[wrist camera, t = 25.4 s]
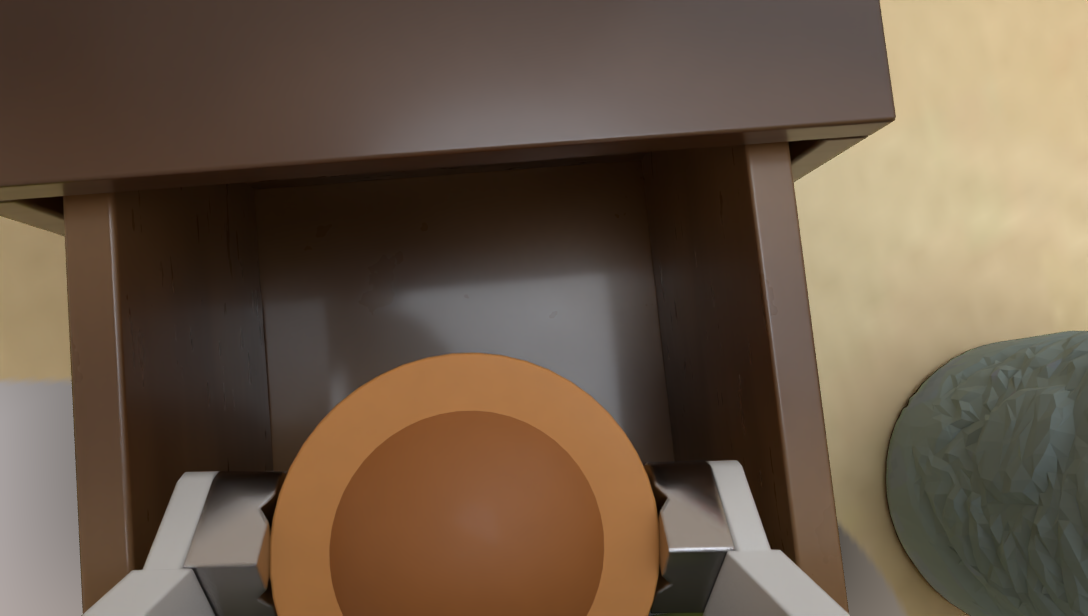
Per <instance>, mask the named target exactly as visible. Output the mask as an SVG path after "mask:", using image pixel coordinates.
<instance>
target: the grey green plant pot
mask: <svg viewBox="0 0 1088 616" xmlns="http://www.w3.org/2000/svg"><path fill="white" fill-rule="evenodd" d="M886 485H887V499H888V504H889V510H890V515H891V518H892V521H893V524H894V527H895V530H896V532H897V535H898V537H899V540H900V542H901V543H902V545H903V547H904V549H905V551H906V553H907V554H908V556H909V557H910V559H911V560H912V562H913V563H914V564H915V566H916V567H917V569H918V570H919V572H920V573H921V574H922V576H923V577H924V578H925V579H926V580H927V582H928V583H929V584H930V585H931V586H932V587H933V588H934V589H935V590H936V591H937V592H938V593H939V594H941V595H942V596H943V597H944V598H945V599H946V600H947V601H949V602H950V603H951V604H953V605H954V606H956V607H957V608H959V609H961V610H962V611H964V612H965V613H967V614H968V615H970V616H1088V331H1067V332H1060V333H1054V334H1048V335H1041V336H1035V337H1028V338H1022V339H1016V340H1009V341H1003V342H997V343H991V344H988V345H984V346H981V347H978V348H975V349H972V350H969V351H966V352H965V353H964V354H961V355H959V356H957V357H955V358H953V359H951V360H950V361H949V362H948V363H947V364H946V365H944V366H943V367H941V368H940V369H938V370H937V371H936V372H935V373H934V374H933V375H931V376H930V377H929V378H928V379H927V380H926V381H925V382H924V383H923V384H922V385H921V387H920V388H919V390H918V391H917V393H915V394H914V395H913V396H912V397H910V398H909V403H908V406H907V407H905V408H904V409H903V410H902V412H901V415H900V417H899V419H898V420H897V422H896V424H895V427H894V430H893V433H892V436H891V439H890V444H889V450H888V456H887V469H886Z"/></svg>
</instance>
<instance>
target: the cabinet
mask: <svg viewBox="0 0 1088 616" xmlns="http://www.w3.org/2000/svg"><path fill="white" fill-rule="evenodd" d="M895 117H896V115H895V108H894V101H893V94H892V87H891V80H890V73H889V65H888V58H887V51H886V44H885V37H884V30H883V23H882V16H881V9H880V2H879V0H0V216H3V217H6V218H9V219H12V220H15V221H19V222H22V223H25V224H28V225H31V226H34V227H37V228H41V229H44V230H47V231H50V232H53V233H56V234H59V235H63V236H65V228H64V208H63V196H70V195H83V194H97V193H110V192H123V191H137V190H150V189H163V188H176V187H190V186H203V185H216V184H230V183H243V182H256V181H269V180H283V179H296V178H309V177H322V176H336V175H349V174H362V173H376V172H389V171H402V170H415V169H429V168H442V167H455V166H469V165H482V164H495V163H508V162H522V161H535V160H548V159H561V158H575V157H588V156H601V155H615V154H628V153H641V152H654V151H668V150H681V149H694V148H708V147H721V146H734V145H747V144H761V143H774V142H787V141H788V144H789V151H790V159H791V167H792V175H793V182H795V181H797V180H798V179H800V178H801V177H803V176H805V175H806V174H808V173H810V172H811V171H813V170H814V169H816V168H818V167H819V166H821V165H823V164H824V163H826V162H827V161H829V160H831V159H832V158H834V157H836V156H837V155H839V154H840V153H842V152H844V151H845V150H847V149H849V148H850V147H852V146H853V145H855V144H857V143H858V142H860V141H862V140H863V139H865V138H866V137H868V135H871V134H873V133H875V132H876V131H878V130H880V129H881V128H883V127H885V126H886V125H888V124H889V123H891V122H893V121H894V120H895Z"/></svg>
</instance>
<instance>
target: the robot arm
mask: <svg viewBox="0 0 1088 616" xmlns="http://www.w3.org/2000/svg"><path fill="white" fill-rule="evenodd" d="M644 469H645V471H646V473H647V475H648V478H649V481H650V485H651V488H652V491H653V494H654V498H655V502H656V508H657V513H658V526H659V576H658V581H657V585H656V590H655V595H654V600H653V603H652V606H651V609H650V610H651V613H703V616H851V615H850V614H848V613H847V612H846V611H845V610H844V609H843V608H842V607H841V606H840V605H839V604H838V603H837V602H836V601H835V600H833V599H832V598H831V597H830V596H829V595H828V594H827V593H826V592H825V591H824V590H823V589H822V588H821V587H820V586H818V585H817V584H816V583H815V582H814V581H813V580H812V579H811V578H810V577H809V576H808V575H807V574H806V573H805V572H803V571H802V570H801V569H800V568H799V567H798V566H797V565H796V564H795V563H794V562H793V561H792V560H791V559H790V558H788V557H787V556H786V555H785V554H784V553H783V552H782V551H781V550H777V549H771V548H770V546H769V543H768V540H767V537H766V534H765V531H764V528H763V525H762V522H761V519H760V516H759V514H758V511H757V508H756V505H755V502H754V499H753V496H752V493H751V490H750V487H749V485H748V482H747V479H746V476H745V473H744V470H743V467H742V465H741V464H740V463H739V462H738V461H737V460H722V461H705V460H695V461H668V462H647V463H646V464H645V465H644ZM287 473H288V471H203V472H185V473H184V474H183V475H182V476H181V478H180V479H179V480H178V481H177V483H176V486H175V488H174V491H173V493H172V496H171V499H170V501H169V504H168V506H167V509H166V511H165V514H164V516H163V519H162V521H161V524H160V526H159V529H158V532H157V534H156V537H155V539H154V542H153V544H152V547H151V549H150V552H149V554H148V557H147V560H146V562H145V565H144V567H143V569H142V570H132V571H131V572H130V573H129V574H127V575H126V576H125V577H124V578H123V579H122V580H121V581H120V582H118V583H117V584H116V585H115V586H114V587H113V588H112V589H111V590H110V591H108V592H107V593H106V594H105V595H104V596H103V597H102V598H101V599H99V600H98V601H97V602H96V603H95V604H94V605H93V606H92V607H90V608H89V609H88V610H87V611H86V612H85V613H84V614H83V615H82V616H278V615H277V612H276V608H275V604H274V601H273V596H272V589H271V581H270V538H271V527H272V520H273V515H274V511H275V508H276V504H277V500H278V496H279V493H280V490H281V488H282V485H283V483H284V480H285V478H286V475H287Z"/></svg>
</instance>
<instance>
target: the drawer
mask: <svg viewBox="0 0 1088 616" xmlns="http://www.w3.org/2000/svg"><path fill="white" fill-rule="evenodd" d="M63 208H64V228H65V249H66V270H67V291H68V312H69V333H70V354H71V375H72V395H73V417H74V437H75V459H76V480H77V500H78V518H79V519H78V521H79V540H80V541H79V542H80V563H81V584H82V604H83V614H84V613H85V612H86V611H87V610H88V609H89V608H90V607H92V606H93V605H94V604H95V603H96V602H97V601H98V600H99V599H101V598H102V597H103V596H104V595H105V594H106V593H107V592H108V591H110V590H111V589H112V588H113V587H114V586H115V585H116V584H117V583H118V582H120V581H121V580H122V579H123V578H124V577H125V576H126V575H127V574H129V573H130V572H131V571H132V570H142V569H143V567H144V565H145V562H146V560H147V557H148V554H149V552H150V549H151V547H152V544H153V542H154V539H155V537H156V534H157V532H158V529H159V526H160V524H161V521H162V519H163V516H164V514H165V511H166V509H167V506H168V504H169V501H170V499H171V496H172V493H173V491H174V488H175V486H176V483H177V481H178V480H179V479H180V478H181V476H182V475H183V474H184V473H185V472H203V471H289V468H290V466H291V464H292V463H293V461H294V459H295V457H296V456H297V454H298V452H299V450H300V449H301V447H302V445H303V444H304V442H305V441H306V440H307V438H308V437H309V436H310V434H311V433H312V432H313V430H314V429H315V428H316V426H317V425H318V424H319V423H320V422H321V421H322V420H323V418H324V417H325V416H326V415H327V414H328V413H329V412H330V411H331V410H332V409H333V408H334V407H335V406H336V405H337V404H338V403H340V402H341V401H342V400H343V399H345V398H346V397H347V396H348V395H350V394H351V393H352V392H353V391H355V390H356V389H357V388H359V387H360V386H362V385H364V384H365V383H367V382H369V381H370V380H372V379H374V378H375V377H377V376H379V375H381V374H383V373H385V372H387V371H390V370H392V369H394V368H396V367H399V366H401V365H403V364H407V363H410V362H413V361H417V360H420V359H423V358H427V357H433V356H439V355H445V354H451V353H486V354H496V355H504V356H508V357H512V358H516V359H520V360H525V361H528V362H530V363H533V364H536V365H538V366H541V367H544V368H546V369H549V370H551V371H553V372H555V373H556V374H558V375H560V376H562V377H564V378H566V379H567V380H569V381H571V382H572V383H574V384H575V385H577V386H578V387H579V388H581V389H582V390H584V391H585V392H586V393H588V394H589V395H590V396H592V397H593V398H594V399H595V400H596V401H597V402H598V403H599V404H600V405H601V406H602V407H603V408H604V409H605V410H606V411H607V412H609V414H610V415H611V416H612V417H613V419H614V420H615V421H616V422H617V423H618V425H619V426H620V427H621V428H622V430H623V431H624V432H625V434H626V435H627V437H628V439H629V440H630V442H631V443H632V445H633V447H634V448H635V450H636V451H637V453H638V455H639V458H640V460H641V462H642V464H643V466H644V465H645V464H646V463H647V462H668V461H695V460H705V461H722V460H737V461H738V462H739V463H740V464H741V465H742V467H743V470H744V473H745V476H746V479H747V482H748V485H749V487H750V490H751V493H752V496H753V499H754V502H755V505H756V508H757V511H758V514H759V516H760V519H761V522H762V525H763V528H764V531H765V534H766V537H767V540H768V543H769V546H770V548H771V549H777V550H781V551H782V552H783V553H784V554H785V555H786V556H787V557H788V558H790V559H791V560H792V561H793V562H794V563H795V564H796V565H797V566H798V567H799V568H800V569H801V570H802V571H803V572H805V573H806V574H807V575H808V576H809V577H810V578H811V579H812V580H813V581H814V582H815V583H816V584H817V585H818V586H820V587H821V588H822V589H823V590H824V591H825V592H826V593H827V594H828V595H829V596H830V597H831V598H832V599H833V600H835V601H836V602H837V603H838V604H839V605H840V606H841V607H842V608H843V609H844V610H845V611H846V612H847V613H848V614H849V610H848V602H847V596H846V587H845V579H844V572H843V564H842V556H841V548H840V541H839V532H838V525H837V517H836V509H835V501H834V494H833V486H832V478H831V470H830V462H829V455H828V447H827V439H826V431H825V424H824V416H823V408H822V400H821V392H820V385H819V377H818V369H817V361H816V354H815V346H814V338H813V330H812V322H811V315H810V307H809V299H808V291H807V284H806V276H805V268H804V260H803V253H802V245H801V237H800V229H799V221H798V214H797V206H796V198H795V190H794V183H793V175H792V167H791V159H790V151H789V144H788V141H787V142H774V143H761V144H747V145H734V146H721V147H708V148H694V149H681V150H668V151H654V152H641V153H628V154H615V155H601V156H588V157H575V158H561V159H548V160H535V161H522V162H508V163H495V164H482V165H469V166H455V167H442V168H429V169H415V170H402V171H389V172H376V173H362V174H349V175H336V176H322V177H309V178H296V179H283V180H269V181H256V182H243V183H230V184H216V185H203V186H190V187H176V188H163V189H150V190H137V191H123V192H110V193H97V194H83V195H70V196H63ZM653 616H703V613H668V614H661V615H653Z"/></svg>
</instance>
